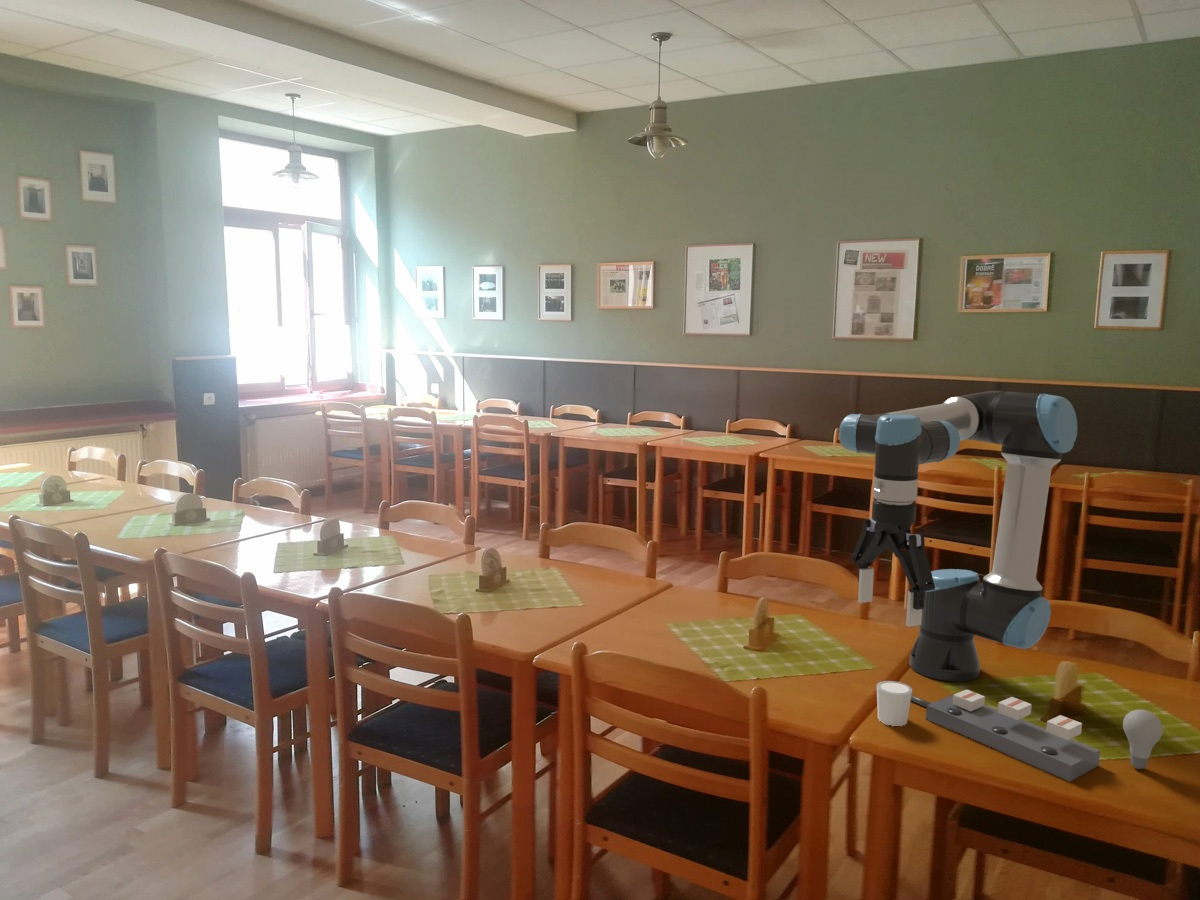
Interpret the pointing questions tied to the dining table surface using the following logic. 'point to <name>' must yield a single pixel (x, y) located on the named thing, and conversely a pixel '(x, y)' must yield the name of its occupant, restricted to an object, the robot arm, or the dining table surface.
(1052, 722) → the far end switch
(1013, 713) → the middle switch
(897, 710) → the white cup
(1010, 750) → the power strip
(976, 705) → the cord end switch
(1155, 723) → the lightbulb
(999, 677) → the dining table surface
